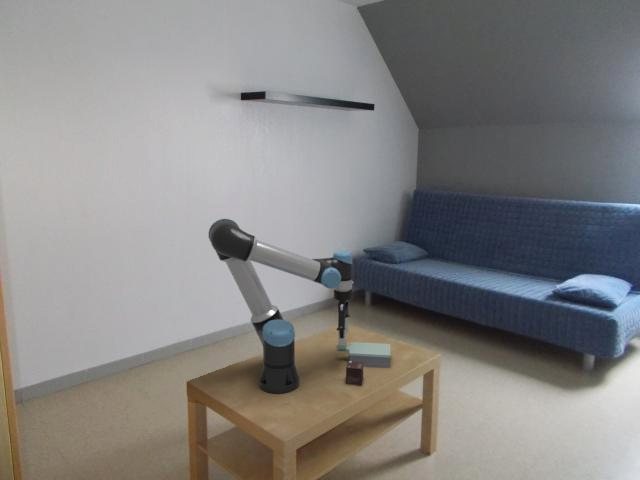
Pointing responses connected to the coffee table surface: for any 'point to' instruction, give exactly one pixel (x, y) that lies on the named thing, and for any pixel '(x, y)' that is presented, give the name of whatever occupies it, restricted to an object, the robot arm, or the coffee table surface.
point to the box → (354, 373)
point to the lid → (365, 349)
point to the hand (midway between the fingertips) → (343, 338)
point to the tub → (371, 361)
